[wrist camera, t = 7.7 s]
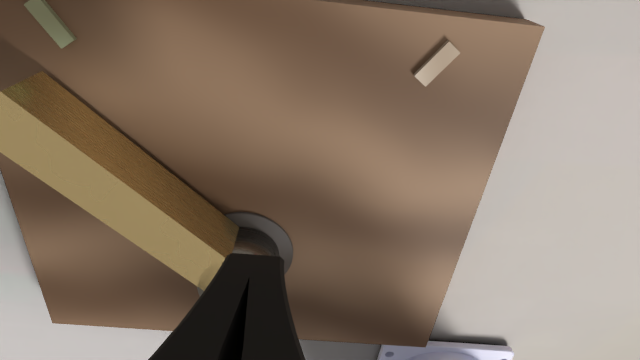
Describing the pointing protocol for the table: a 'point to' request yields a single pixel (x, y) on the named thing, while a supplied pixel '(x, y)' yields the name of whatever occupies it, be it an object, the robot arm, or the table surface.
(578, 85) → the table surface
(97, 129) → the tan wooden bar
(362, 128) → the plate
